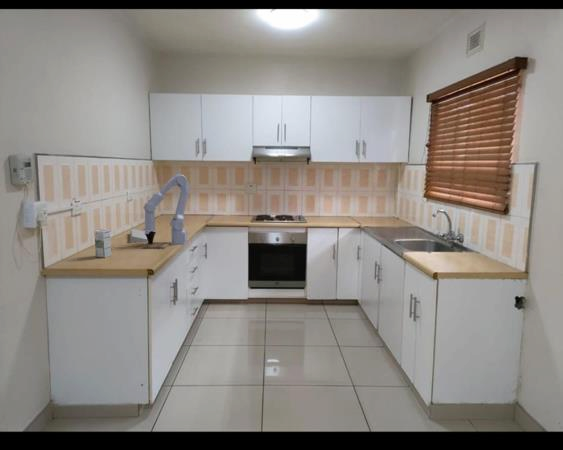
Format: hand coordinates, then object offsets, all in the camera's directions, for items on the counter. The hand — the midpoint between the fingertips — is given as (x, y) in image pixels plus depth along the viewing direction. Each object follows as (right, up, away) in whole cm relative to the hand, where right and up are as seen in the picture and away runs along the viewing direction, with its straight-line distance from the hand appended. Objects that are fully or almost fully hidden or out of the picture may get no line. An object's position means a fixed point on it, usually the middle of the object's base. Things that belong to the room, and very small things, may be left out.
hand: (150, 243), depth 244 cm
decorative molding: (-17, +2, +27) cm, 32 cm away
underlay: (+4, -2, -3) cm, 6 cm away
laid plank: (+8, -2, -3) cm, 9 cm away
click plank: (+1, -2, -3) cm, 3 cm away
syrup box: (-16, -6, -30) cm, 34 cm away
